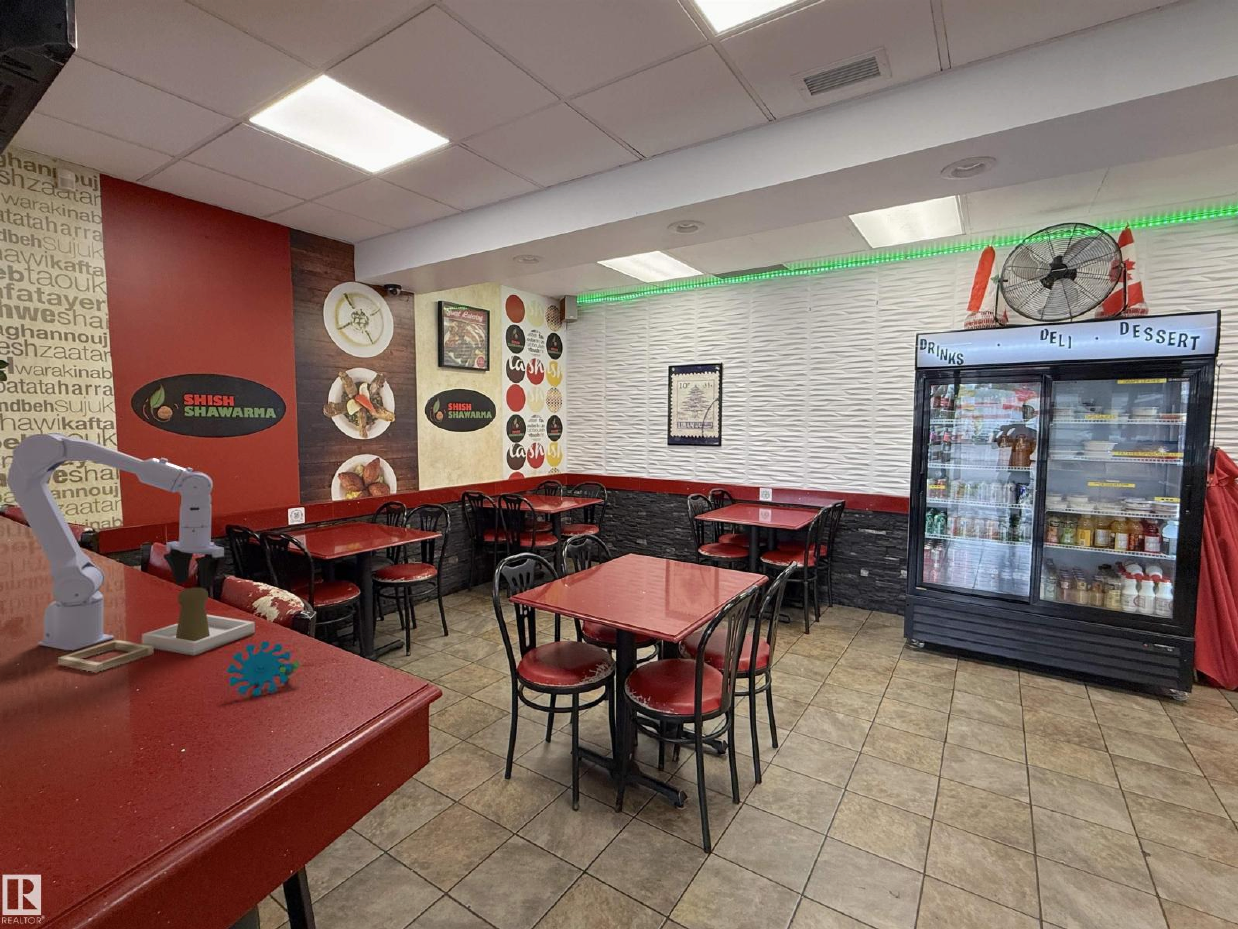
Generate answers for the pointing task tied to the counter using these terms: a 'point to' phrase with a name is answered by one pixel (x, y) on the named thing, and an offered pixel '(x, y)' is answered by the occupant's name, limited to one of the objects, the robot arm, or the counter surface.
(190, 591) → the cork
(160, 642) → the tray
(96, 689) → the counter surface
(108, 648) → the collar
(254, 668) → the gear
